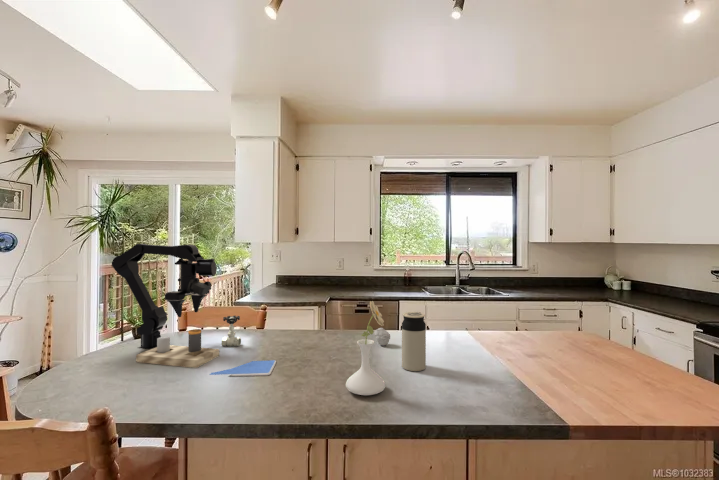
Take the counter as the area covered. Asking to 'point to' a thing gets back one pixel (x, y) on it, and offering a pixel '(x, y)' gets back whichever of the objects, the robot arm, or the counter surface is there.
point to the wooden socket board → (178, 356)
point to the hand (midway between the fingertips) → (188, 314)
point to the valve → (231, 333)
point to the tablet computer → (250, 369)
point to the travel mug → (413, 341)
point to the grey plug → (163, 344)
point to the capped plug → (194, 340)
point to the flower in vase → (367, 364)
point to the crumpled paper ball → (382, 336)
